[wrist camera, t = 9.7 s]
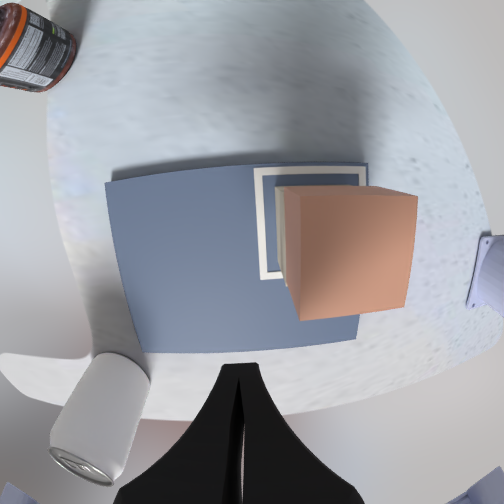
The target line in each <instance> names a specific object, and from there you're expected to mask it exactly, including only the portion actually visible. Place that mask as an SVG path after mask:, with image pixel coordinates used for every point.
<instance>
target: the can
mask: <svg viewBox="0 0 504 504" xmlns="http://www.w3.org/2000/svg"><path fill="white" fill-rule="evenodd" d="M149 390H150V382H149V380H148V378H147V376H146V374H145V373H144V371H143V370H142V369H141V368H140V366H139V365H137V364H136V363H135V362H134V361H132V360H131V359H129V358H127V357H125V356H123V355H120V354H117V353H101V354H99V355H97V356H96V357H95V358H94V359H93V361H92V362H91V364H90V365H89V367H88V368H87V370H86V371H85V373H84V374H83V376H82V378H81V379H80V381H79V382H78V384H77V386H76V387H75V389H74V391H73V392H72V394H71V396H70V397H69V399H68V401H67V402H66V404H65V406H64V408H63V409H62V411H61V413H60V415H59V417H58V419H57V420H56V422H55V424H54V426H53V428H52V430H51V432H50V447H49V448H48V453H49V454H50V455H51V457H52V458H53V459H54V460H55V461H56V462H57V463H58V464H60V465H61V466H62V467H64V468H65V469H66V470H68V471H69V472H71V473H73V474H74V475H76V476H78V477H80V478H82V479H84V480H86V481H88V482H91V483H94V484H97V485H100V486H106V487H111V486H113V485H114V480H115V479H116V478H117V477H119V476H120V475H121V474H122V472H123V470H124V467H125V464H126V461H127V457H128V455H129V451H130V448H131V445H132V442H133V439H134V436H135V433H136V430H137V426H138V423H139V420H140V417H141V414H142V411H143V408H144V405H145V402H146V399H147V396H148V393H149Z"/></svg>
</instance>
